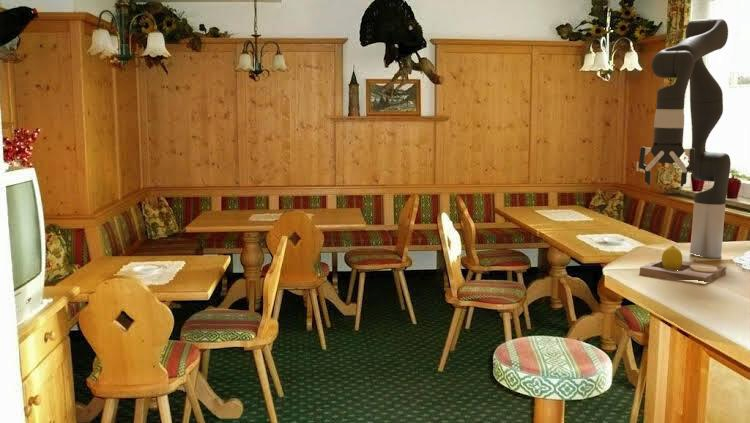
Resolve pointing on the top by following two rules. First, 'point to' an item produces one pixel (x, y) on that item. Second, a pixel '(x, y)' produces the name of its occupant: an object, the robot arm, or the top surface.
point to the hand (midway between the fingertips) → (665, 185)
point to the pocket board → (681, 272)
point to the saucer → (703, 268)
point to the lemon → (672, 258)
